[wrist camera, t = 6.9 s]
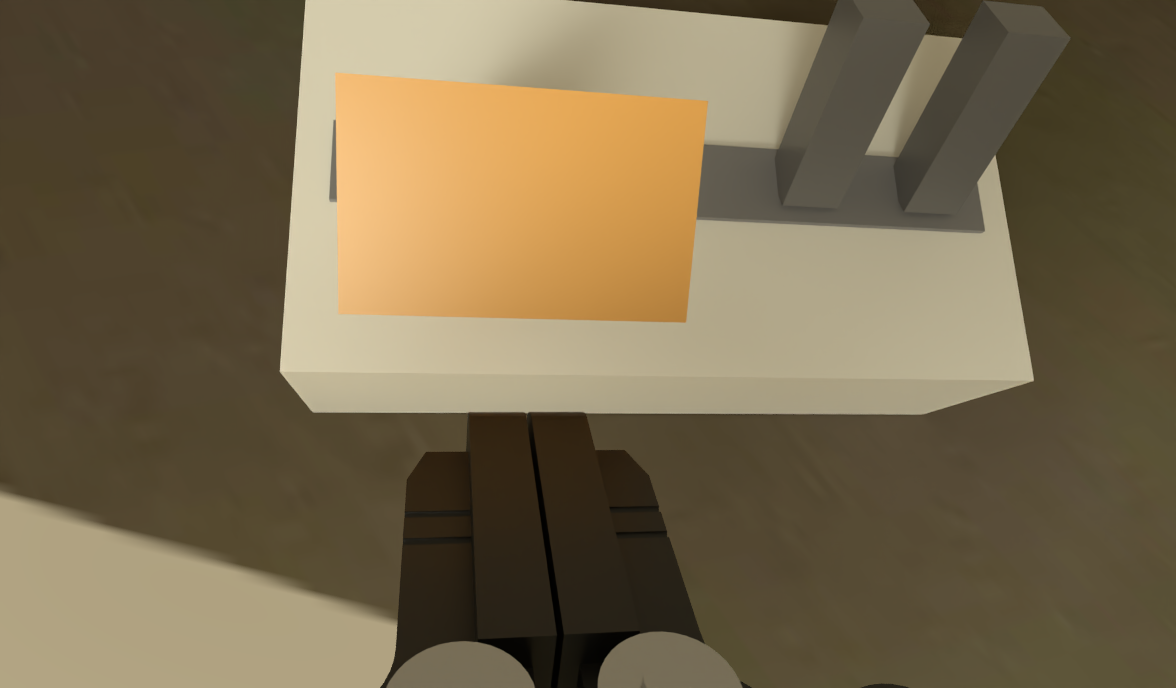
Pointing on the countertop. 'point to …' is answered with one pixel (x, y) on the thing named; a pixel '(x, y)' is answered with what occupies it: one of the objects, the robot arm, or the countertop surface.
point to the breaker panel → (709, 212)
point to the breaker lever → (514, 201)
